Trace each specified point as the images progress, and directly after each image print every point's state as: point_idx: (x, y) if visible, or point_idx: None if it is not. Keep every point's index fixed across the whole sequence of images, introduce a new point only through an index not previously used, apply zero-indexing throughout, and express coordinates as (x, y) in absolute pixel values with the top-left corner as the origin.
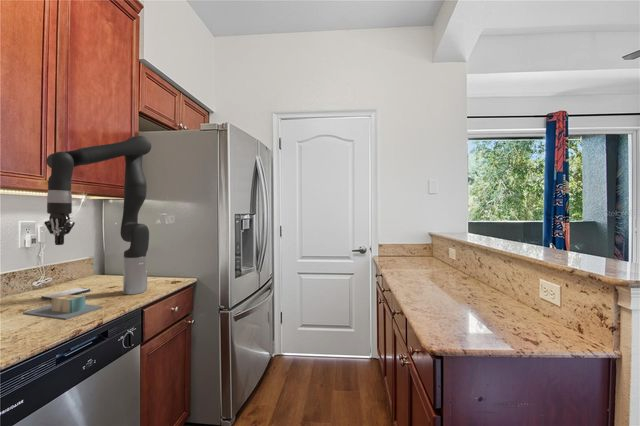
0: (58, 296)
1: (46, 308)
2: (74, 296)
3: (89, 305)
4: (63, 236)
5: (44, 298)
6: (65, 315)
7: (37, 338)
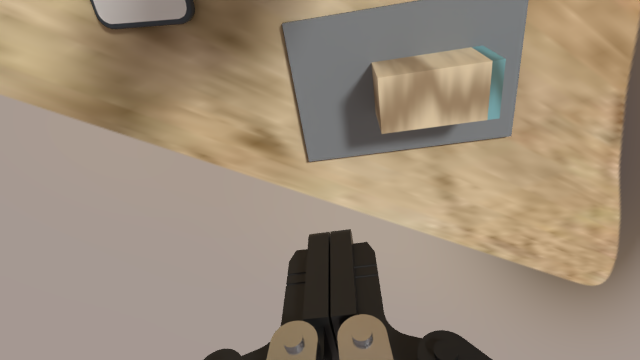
0: (389, 113)
1: (330, 107)
2: (458, 83)
3: (455, 4)
4: (384, 317)
5: (137, 26)
6: (481, 121)
7: (565, 230)
